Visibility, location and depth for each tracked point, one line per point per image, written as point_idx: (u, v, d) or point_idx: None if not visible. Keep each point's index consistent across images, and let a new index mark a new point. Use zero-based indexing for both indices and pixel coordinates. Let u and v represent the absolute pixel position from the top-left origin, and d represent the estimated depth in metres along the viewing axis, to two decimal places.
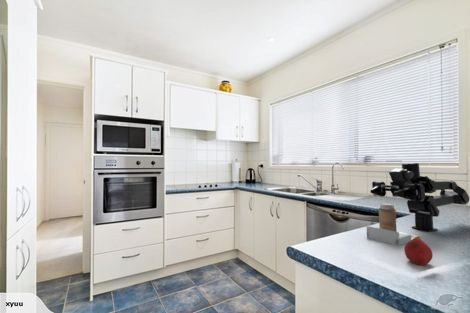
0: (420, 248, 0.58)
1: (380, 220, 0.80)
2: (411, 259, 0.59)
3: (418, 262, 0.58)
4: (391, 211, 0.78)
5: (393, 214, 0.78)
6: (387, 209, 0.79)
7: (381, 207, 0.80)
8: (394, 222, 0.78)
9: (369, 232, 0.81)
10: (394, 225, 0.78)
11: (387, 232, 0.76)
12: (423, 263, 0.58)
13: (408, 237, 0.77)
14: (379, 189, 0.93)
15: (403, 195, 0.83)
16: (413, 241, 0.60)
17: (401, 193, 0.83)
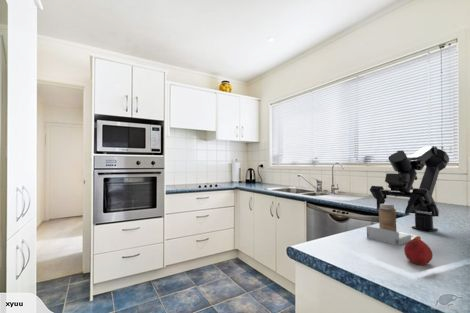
0: (420, 248, 0.58)
1: (380, 220, 0.80)
2: (411, 259, 0.59)
3: (418, 262, 0.58)
4: (391, 211, 0.78)
5: (393, 214, 0.78)
6: (387, 209, 0.79)
7: (381, 207, 0.80)
8: (394, 222, 0.78)
9: (369, 232, 0.81)
10: (394, 225, 0.78)
11: (387, 232, 0.76)
12: (423, 263, 0.58)
13: (408, 237, 0.77)
14: (381, 198, 0.88)
15: (413, 208, 0.79)
16: (413, 241, 0.60)
17: (411, 208, 0.78)
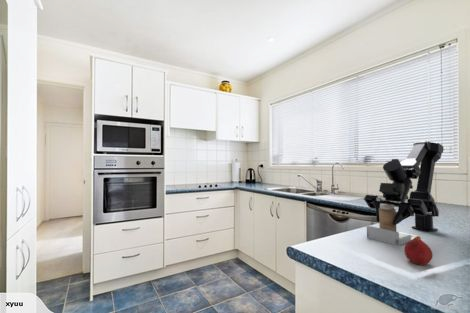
0: (420, 248, 0.58)
1: (380, 220, 0.80)
2: (411, 259, 0.59)
3: (418, 262, 0.58)
4: (391, 211, 0.78)
5: (393, 214, 0.78)
6: (387, 209, 0.79)
7: (381, 207, 0.80)
8: None
9: (369, 232, 0.81)
10: (394, 225, 0.78)
11: (387, 232, 0.76)
12: (423, 263, 0.58)
13: (408, 237, 0.77)
14: None
15: (402, 218, 0.78)
16: (413, 241, 0.60)
17: (399, 218, 0.77)
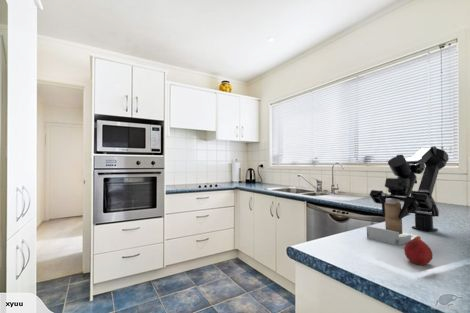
0: (420, 248, 0.58)
1: (386, 214, 0.83)
2: (411, 259, 0.59)
3: (418, 262, 0.58)
4: (397, 205, 0.80)
5: (399, 208, 0.80)
6: (393, 203, 0.81)
7: (387, 202, 0.83)
8: None
9: (369, 232, 0.81)
10: (400, 219, 0.80)
11: (387, 232, 0.76)
12: (423, 263, 0.58)
13: (408, 237, 0.77)
14: None
15: (407, 212, 0.80)
16: (413, 241, 0.60)
17: (405, 212, 0.80)
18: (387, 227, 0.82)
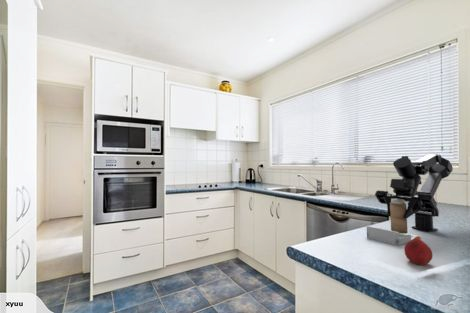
0: (420, 248, 0.58)
1: (391, 214, 0.85)
2: (411, 259, 0.59)
3: (418, 262, 0.58)
4: (402, 205, 0.82)
5: (404, 208, 0.82)
6: (398, 203, 0.83)
7: (392, 202, 0.85)
8: None
9: (369, 232, 0.81)
10: (405, 219, 0.82)
11: (387, 232, 0.76)
12: (423, 263, 0.58)
13: (408, 237, 0.77)
14: None
15: (412, 212, 0.82)
16: (413, 241, 0.60)
17: (410, 212, 0.82)
18: (392, 227, 0.84)
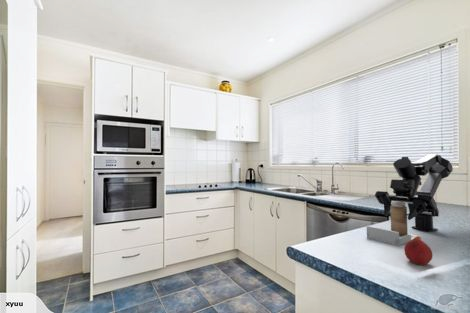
0: (420, 248, 0.58)
1: (392, 217, 0.85)
2: (411, 259, 0.59)
3: (418, 262, 0.58)
4: (402, 208, 0.82)
5: (405, 211, 0.82)
6: (399, 206, 0.83)
7: (393, 205, 0.85)
8: (405, 219, 0.82)
9: (369, 232, 0.81)
10: (405, 222, 0.82)
11: (387, 232, 0.76)
12: (423, 263, 0.58)
13: (408, 237, 0.77)
14: (388, 203, 0.89)
15: (416, 214, 0.81)
16: (413, 241, 0.60)
17: (414, 213, 0.81)
18: (392, 229, 0.84)
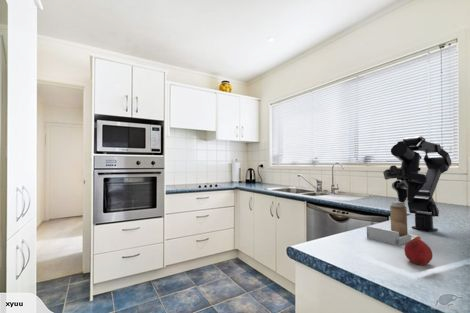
0: (420, 248, 0.58)
1: (391, 217, 0.85)
2: (411, 259, 0.59)
3: (418, 262, 0.58)
4: (402, 208, 0.82)
5: (404, 211, 0.82)
6: (398, 206, 0.83)
7: (392, 205, 0.85)
8: (405, 219, 0.82)
9: (369, 232, 0.81)
10: (405, 222, 0.82)
11: (387, 232, 0.76)
12: (423, 263, 0.58)
13: (408, 237, 0.77)
14: (401, 191, 0.94)
15: (414, 192, 0.83)
16: (413, 241, 0.60)
17: (411, 194, 0.84)
18: (392, 229, 0.84)
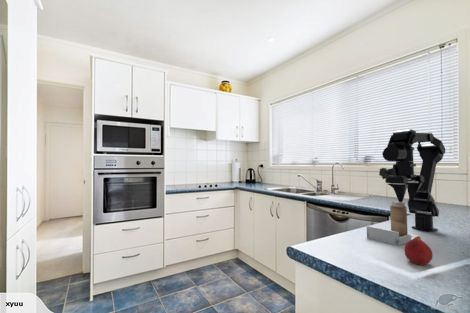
0: (420, 248, 0.58)
1: (391, 217, 0.85)
2: (411, 259, 0.59)
3: (418, 262, 0.58)
4: (402, 208, 0.82)
5: (404, 211, 0.82)
6: (398, 206, 0.83)
7: (392, 205, 0.84)
8: (405, 219, 0.82)
9: (369, 232, 0.81)
10: (405, 222, 0.82)
11: (387, 232, 0.76)
12: (423, 263, 0.58)
13: (408, 237, 0.77)
14: (410, 185, 0.92)
15: (401, 193, 0.85)
16: (413, 241, 0.60)
17: (399, 195, 0.86)
18: (392, 229, 0.84)
